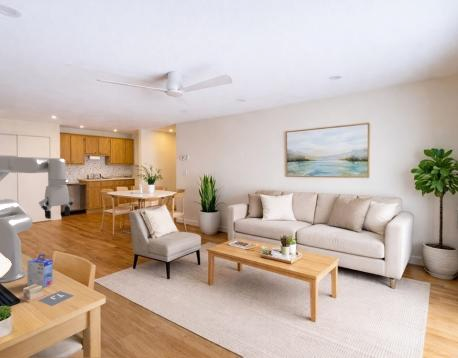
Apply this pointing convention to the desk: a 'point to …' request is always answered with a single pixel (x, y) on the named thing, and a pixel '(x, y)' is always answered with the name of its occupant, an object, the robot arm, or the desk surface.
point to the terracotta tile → (32, 299)
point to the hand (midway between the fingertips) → (57, 216)
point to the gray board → (56, 298)
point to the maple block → (32, 291)
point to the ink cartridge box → (40, 271)
